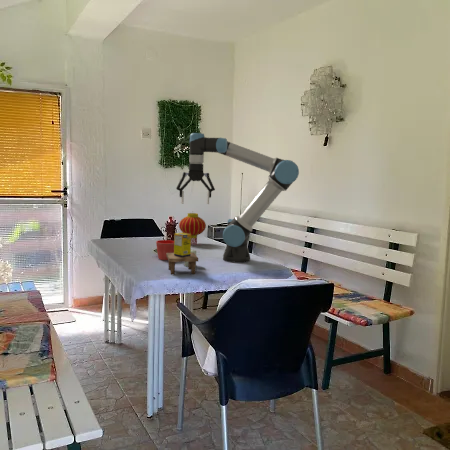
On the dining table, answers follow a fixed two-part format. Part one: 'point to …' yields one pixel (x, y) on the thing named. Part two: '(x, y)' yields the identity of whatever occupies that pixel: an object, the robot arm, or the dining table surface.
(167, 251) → the flower pot
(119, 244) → the dining table surface
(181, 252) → the supplement box
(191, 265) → the footstool
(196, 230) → the lantern
